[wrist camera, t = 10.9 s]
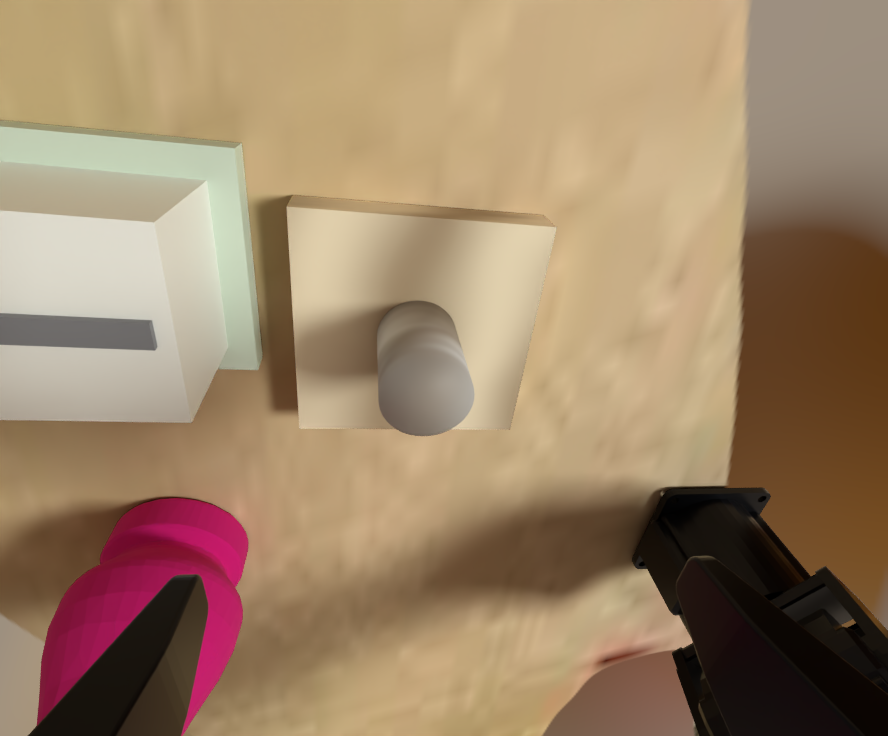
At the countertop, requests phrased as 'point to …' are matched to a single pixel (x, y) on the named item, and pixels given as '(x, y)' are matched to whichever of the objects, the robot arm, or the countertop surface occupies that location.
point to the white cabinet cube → (106, 295)
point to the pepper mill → (149, 592)
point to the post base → (409, 266)
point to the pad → (170, 160)
